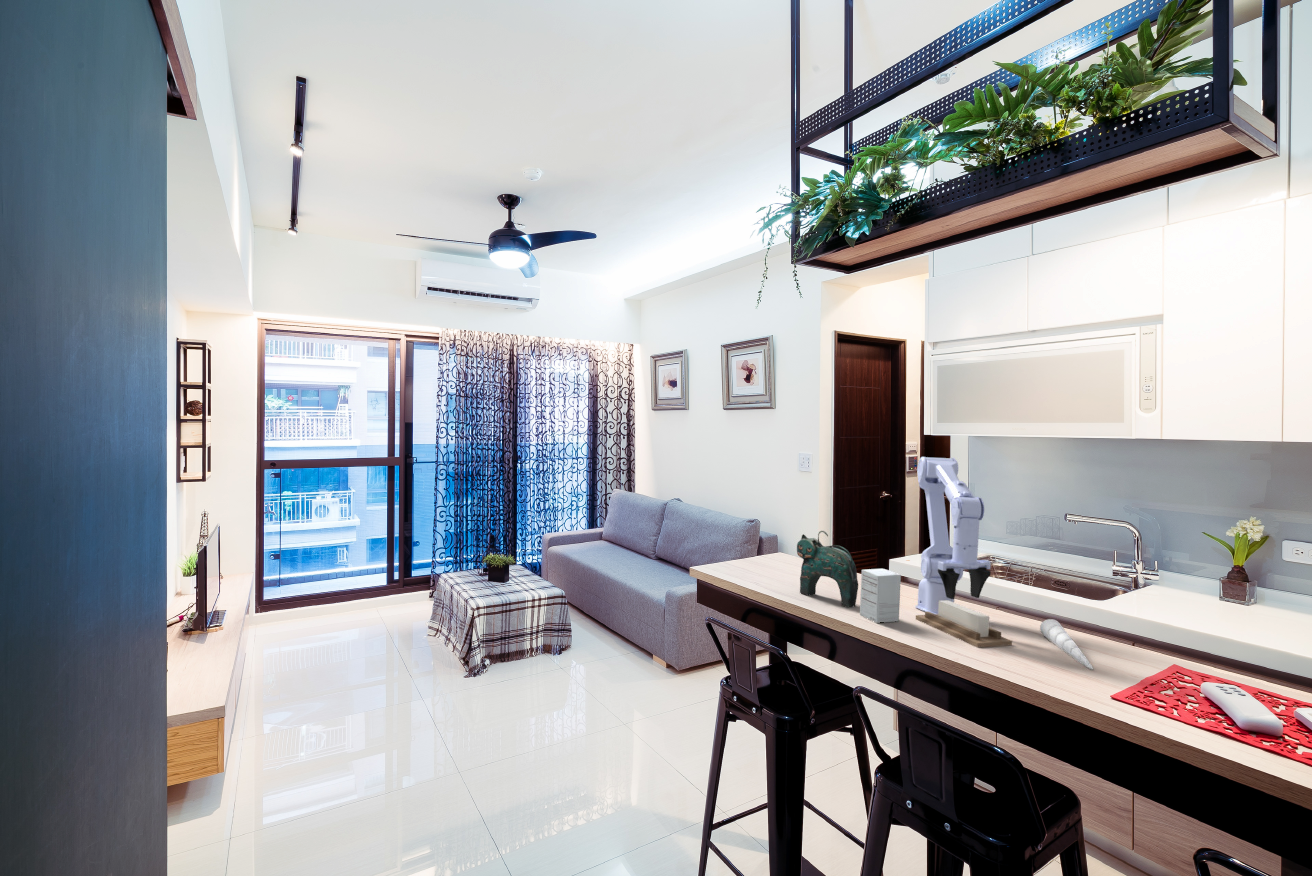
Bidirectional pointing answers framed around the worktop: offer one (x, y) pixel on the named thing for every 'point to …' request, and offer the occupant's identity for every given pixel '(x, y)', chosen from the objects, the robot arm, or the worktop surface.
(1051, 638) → the unicorn horn
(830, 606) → the worktop surface
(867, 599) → the supplement box
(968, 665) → the worktop surface
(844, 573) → the ceramic cat
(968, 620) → the white rectangular block
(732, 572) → the worktop surface
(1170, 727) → the worktop surface
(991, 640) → the railed tan base plate
